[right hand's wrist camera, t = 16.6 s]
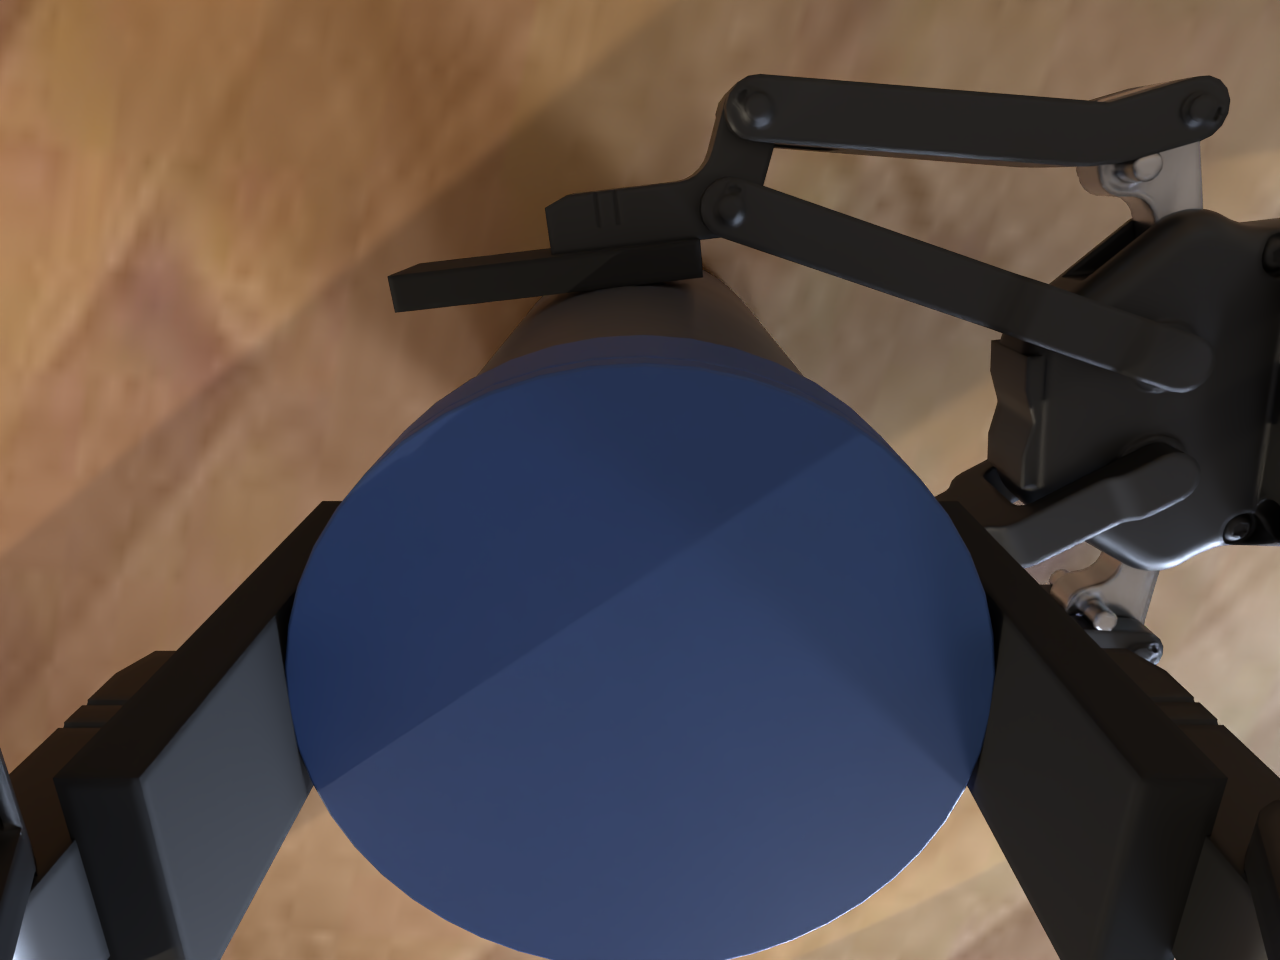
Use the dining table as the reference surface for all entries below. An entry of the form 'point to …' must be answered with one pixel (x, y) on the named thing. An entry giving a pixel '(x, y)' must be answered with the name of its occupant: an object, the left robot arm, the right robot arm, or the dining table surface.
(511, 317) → the dining table surface
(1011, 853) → the right robot arm
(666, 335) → the jar
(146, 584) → the dining table surface
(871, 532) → the lid
